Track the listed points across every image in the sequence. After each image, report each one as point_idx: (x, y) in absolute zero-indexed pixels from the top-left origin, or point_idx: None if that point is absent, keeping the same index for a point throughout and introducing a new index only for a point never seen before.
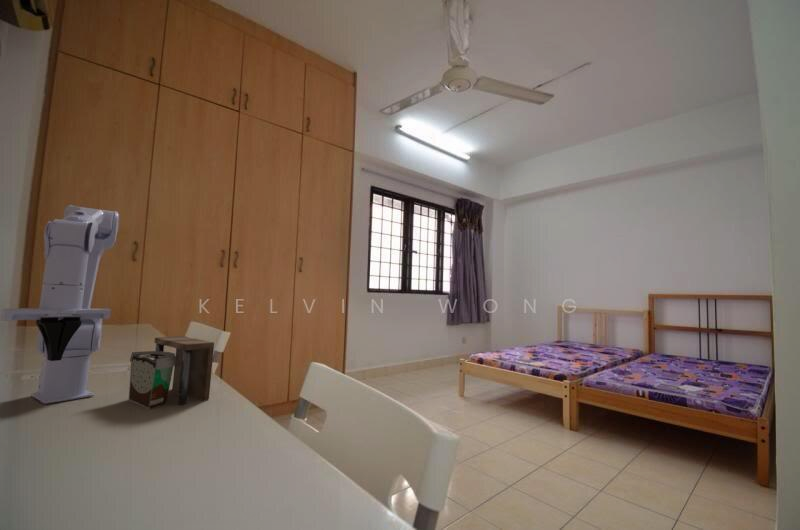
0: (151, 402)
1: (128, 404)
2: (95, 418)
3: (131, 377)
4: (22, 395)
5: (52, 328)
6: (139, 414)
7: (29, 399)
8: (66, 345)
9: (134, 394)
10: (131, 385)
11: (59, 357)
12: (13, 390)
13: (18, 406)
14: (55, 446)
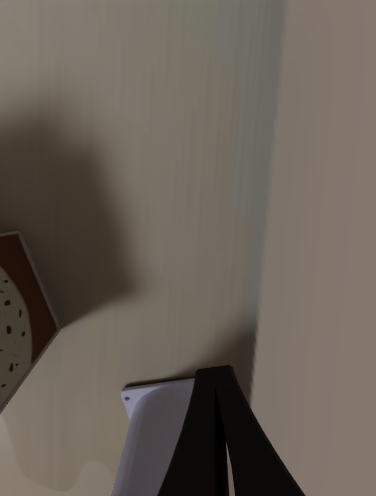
0: (3, 233)
1: (61, 295)
2: (124, 226)
3: (23, 372)
4: None
5: None
6: (40, 200)
7: None
8: (180, 438)
9: (40, 318)
10: (36, 350)
11: (204, 375)
12: None
13: None
14: (203, 56)
